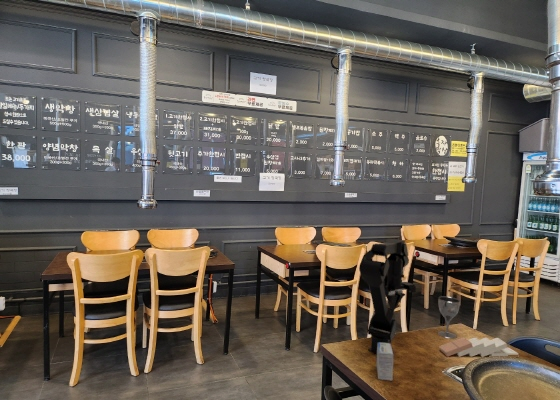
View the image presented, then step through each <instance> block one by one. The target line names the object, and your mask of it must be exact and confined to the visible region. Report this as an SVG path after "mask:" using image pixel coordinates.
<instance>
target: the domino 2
mask: <svg viewBox="0 0 560 400" xmlns="http://www.w3.org/2000/svg"><path fill="white" fill-rule="evenodd" d="M467 340H468V341H470V342H471V343H472V346H473V347H471V348H469V349H466V350H464V351H461V352H458V353H456V354H455V355H456V356H457V357H459V358H460V357H463V356H465V355H468V353H471V352H473V351H476V350H478V349H481V348H484V347H485V346H484V343H483V342H481V341H480V339H479V338H477V337H472V338H469V339H467Z"/></svg>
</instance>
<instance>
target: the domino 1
mask: <svg viewBox="0 0 560 400" xmlns="http://www.w3.org/2000/svg"><path fill="white" fill-rule="evenodd" d="M468 340H469V339H467V338H466V337H464V336H463V337H460V338H457V339H455V340H451V341H450V342H447V343H444V344H442V345H438V347H439V350H440V352H441V353H443V354H444V355H445V356H446V357H450V356H453V355H457V354H456V353H458V352H461V351H464V350H466V349H469V348H471V347H473V346H472V343H471V342H470V341H468Z"/></svg>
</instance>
